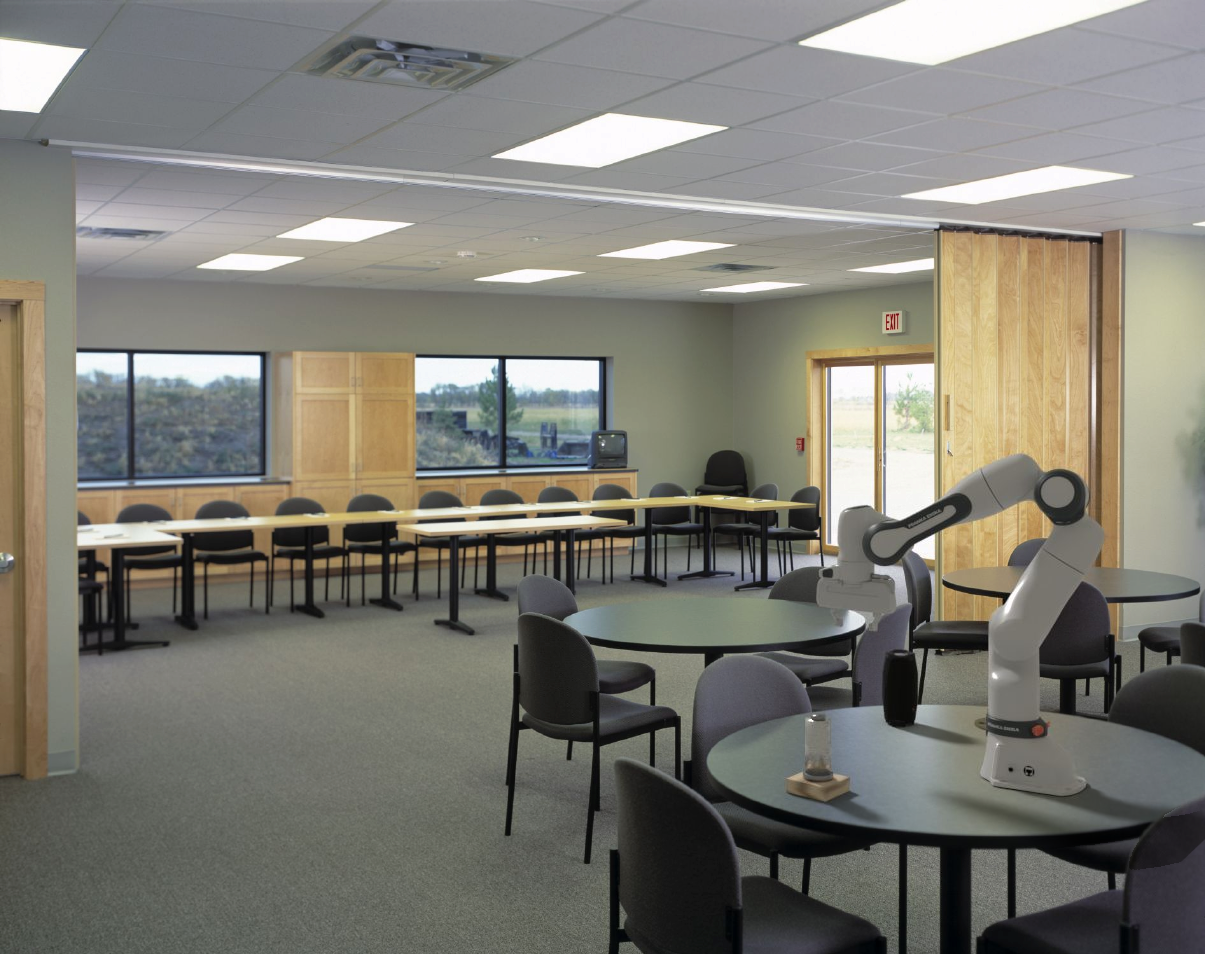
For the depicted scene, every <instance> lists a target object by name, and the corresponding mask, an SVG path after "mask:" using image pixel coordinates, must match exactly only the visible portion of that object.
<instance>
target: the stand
mask: <svg viewBox="0 0 1205 954" xmlns="http://www.w3.org/2000/svg"><path fill="white" fill-rule="evenodd" d="M850 779H851V778H850V776H847V775H843V774H842V775H841V774H838V773H833V780H832V781H829V782H811V781H807V780H805V779H804V778H803V771H801V772H799V773H796V774H794V775H792V776H789V777H786V779H785V792H786V793H787V794H788V793H789V794H792V795H797V796H801V797H805V798H810V799H813V800H817V801H819V802H821V801H822V802H825V803H826V802H828V801H830V800H833V799H834V798H835V799H836V798H837V797H840V796H841V795H843V794H845V793H848V792H850V791H851V789H850V784H851V783H850V781H851V780H850Z"/></svg>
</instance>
